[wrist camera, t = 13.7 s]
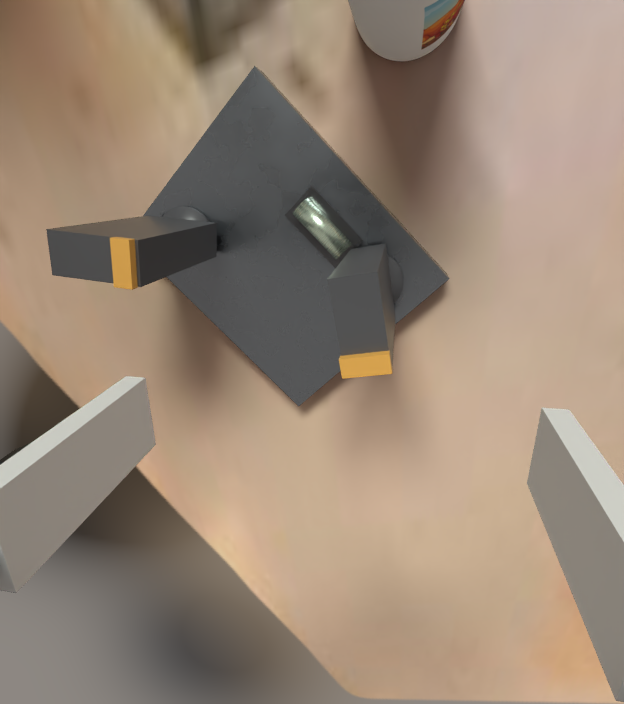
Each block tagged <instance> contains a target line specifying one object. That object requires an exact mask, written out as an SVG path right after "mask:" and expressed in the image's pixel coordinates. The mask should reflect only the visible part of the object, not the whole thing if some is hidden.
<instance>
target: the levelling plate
mask: <svg viewBox="0 0 624 704" xmlns="http://www.w3.org/2000/svg"><path fill="white" fill-rule="evenodd" d="M180 206H190V207H194V208H196V209H198V210H200V211H201V212H202V213H204V214H205V215H206V216H207V218H208V219H209V221H210V222H214V223H217V257H214V258H212V259H209V260H207V261H204V262H202V263H199V264H197V265H194V266H192V267H189V268H187V269H184V270H182V271H179V272H177V273H174V274H172V275H169V276H167V278H168V279H169V280H170V281H171V282H172V283H173V284H174V285H175V286H176V287H177V288H178V289H179V290H180V291H181V292H182V293H183V294H184V295H185V296H186V297H187V298H188V299H189V300H191V301H192V302H193V303H194V304H195V305H196V306H197V307H198V308H199V309H200V310H201V311H202V312H203V313H204V314H205V315H206V316H207V317H208V318H209V319H210V320H211V321H212V322H213V323H214V324H215V325H216V326H217V327H218V328H219V329H220V330H221V331H222V332H223V333H224V334H225V335H226V336H227V337H228V338H229V339H230V340H231V341H232V342H233V343H234V344H236V345H237V346H238V347H239V348H240V349H241V350H242V351H243V352H244V353H245V354H246V355H247V356H248V357H249V358H250V359H251V360H252V361H253V362H254V363H255V364H256V365H257V366H258V367H259V368H260V369H261V370H262V371H263V372H264V373H265V374H266V375H267V376H268V377H269V378H270V379H271V380H272V381H273V382H274V383H275V384H276V385H277V386H278V387H279V388H280V389H282V390H283V391H284V392H285V393H286V394H287V395H288V396H289V397H290V398H291V399H292V400H293V401H294V402H295V403H296V404H297V405H298V406H299V405H301V404H302V403H303V402H304V401H305V400H307V399H308V398H309V397H310V396H311V395H312V394H314V393H315V392H316V391H317V390H318V389H320V388H321V387H322V386H323V385H324V384H325V383H327V382H328V381H329V380H330V379H331V378H333V377H334V376H335V375H336V374H337V373H338V372H340V371H341V370H340V364H339V358H340V356H341V354H340V348H339V343H338V337H337V331H336V326H335V320H334V315H333V309H332V304H331V298H330V292H329V287H328V281H327V279H328V277H329V276H330V275H331V274H332V272H333V271H334V270H335V269H336V267H337V266H338V265H339V264H340V262H341V261H342V260H343V258H344V257H345V256H346V255H347V253H348V252H349V251H350V250H351V249H355V248H361V247H367V246H373V245H379V244H385V243H386V248H387V255H389V256H391V257H392V258H394V259H395V260H396V261H397V262H398V264H399V265H400V267H401V269H402V272H403V279H404V283H403V289H402V292H401V295H400V297H399V298H398V299H397V301H396V302H395V303H394V308H395V316H396V317H395V324H396V323H398V322H399V321H400V320H401V319H402V318H403V317H405V316H406V315H407V314H408V313H409V312H411V311H412V310H413V309H414V308H415V307H416V306H418V305H419V304H420V303H421V302H422V301H424V300H425V299H426V298H427V297H428V296H429V295H431V294H432V293H433V292H434V291H435V290H437V289H438V288H439V287H440V286H441V285H442V284H444V283H445V282H446V281H447V280H448V279H449V277H448V275H447V273H446V272H445V271H444V270H443V269H442V268H441V267H440V266H439V265H438V264H437V262H436V261H435V260H434V259H433V258H432V257H431V256H430V255H429V254H428V253H427V252H426V250H425V249H424V248H423V247H422V246H421V245H420V244H419V243H418V242H417V241H416V240H415V238H414V237H413V236H412V235H411V234H410V233H409V232H408V231H407V230H406V229H405V227H404V226H403V225H402V224H401V223H400V222H399V221H398V220H397V219H396V218H395V217H394V215H393V214H392V213H391V212H390V211H389V210H388V209H387V208H386V207H385V206H384V205H383V203H382V202H381V201H380V200H379V199H378V198H377V197H376V196H375V195H374V194H373V192H372V191H371V190H370V189H369V188H368V187H367V186H366V185H365V184H364V183H363V182H362V180H361V179H360V178H359V177H358V176H357V175H356V174H355V173H354V172H353V171H352V170H351V168H350V167H349V166H348V165H347V164H346V163H345V162H344V161H343V160H342V159H341V157H340V156H339V155H338V154H337V153H336V152H335V151H334V150H333V149H332V148H331V147H330V145H329V144H328V143H327V142H326V141H325V140H324V139H323V138H322V137H321V136H320V135H319V133H318V132H317V131H316V130H315V129H314V128H313V127H312V126H311V125H310V124H309V122H308V121H307V120H306V119H305V118H304V117H303V116H302V115H301V114H300V113H299V112H298V110H297V109H296V108H295V107H294V106H293V105H292V104H291V103H290V102H289V101H288V99H287V98H286V97H285V96H284V95H283V94H282V93H281V92H280V91H279V90H278V89H277V87H276V86H275V85H274V84H273V83H272V82H271V81H270V80H269V79H268V78H267V77H266V75H265V74H264V73H263V72H262V71H260V70H259V69H258V68H257V67H255V66H254V68H253V69H252V70H251V72H250V73H249V74H248V76H247V77H246V78H245V80H244V81H243V82H242V84H241V85H240V86H239V88H238V89H237V90H236V92H235V93H234V94H233V96H232V97H231V98H230V100H229V101H228V103H227V104H226V105H225V107H224V108H223V109H222V111H221V112H220V113H219V115H218V116H217V117H216V119H215V120H214V121H213V123H212V124H211V125H210V127H209V128H208V129H207V131H206V132H205V133H204V135H203V136H202V137H201V139H200V140H199V142H198V143H197V144H196V146H195V147H194V148H193V150H192V151H191V152H190V154H189V155H188V156H187V158H186V159H185V160H184V162H183V163H182V164H181V166H180V167H179V168H178V170H177V171H176V172H175V174H174V175H173V176H172V178H171V179H170V180H169V182H168V183H167V185H166V186H165V187H164V189H163V190H162V191H161V193H160V194H159V195H158V197H157V198H156V199H155V201H154V202H153V203H152V205H151V206H150V207H149V209H148V210H147V211H146V213H145V214H144V215H143V216H159V217H163V215H164V214H165V213H166V212H167V211H168V210H170V209H172V208H175V207H180Z"/></svg>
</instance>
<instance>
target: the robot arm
mask: <svg viewBox="0 0 624 704" xmlns="http://www.w3.org/2000/svg"><path fill="white" fill-rule="evenodd" d="M155 445H156V443H155V436H154V430H153V423H152V417H151V410H150V404H149V397H148V391H147V384H146V378H143V377H130V376H125V377H124V378H123V379H121V380H120V381H118V382H117V383H116V384H114V385H113V386H111V387H110V388H108V389H107V390H106V391H104V392H103V393H101V394H100V395H99V396H97V397H96V398H94V399H93V400H91V401H90V402H89V403H87V404H86V405H84V406H83V407H82V408H80V409H79V410H77V411H76V412H75V413H73V414H72V415H70V416H69V417H67V418H66V419H65V420H63V421H62V422H61V423H59V424H57V425H56V426H55V427H53V428H52V429H51V430H49V431H47V432H46V433H45V434H43V435H42V436H40V437H39V438H38V439H36V440H35V441H33V442H32V443H29V444H27V445H25V446H23V447H21V448H18V449H16V450H14V451H12V452H11V453H10V454H8V455H7V456H5V457H4V458H2V459H1V460H0V590H2V591H7V592H13V593H17V592H18V591H19V590H20V589H21V588H22V586H23V585H24V584H25V583H26V582H27V581H28V580H29V579H30V578H31V577H32V576H33V575H34V574H35V572H37V570H38V569H39V568H40V567H41V566H42V565H43V564H44V563H45V562H46V561H47V560H48V559H49V558H50V557H51V556H52V554H53V553H54V552H55V551H56V550H57V549H58V548H59V547H60V546H61V545H62V544H63V543H64V541H66V540H67V538H68V537H69V536H70V535H71V534H72V533H73V532H74V531H75V530H76V529H77V528H78V527H79V526H80V525H81V524H82V522H83V521H84V520H85V519H86V518H87V517H88V516H89V515H90V514H91V513H92V512H93V511H94V510H95V509H96V507H97V506H98V505H99V504H100V503H101V502H102V501H103V500H104V499H105V498H106V497H107V496H108V495H109V494H110V493H111V492H112V491H113V489H114V488H115V487H116V486H117V485H118V484H119V483H120V482H121V481H122V480H123V479H124V478H125V477H126V476H127V474H128V473H129V472H130V471H131V470H132V469H133V468H134V467H135V466H136V465H137V464H138V463H139V462H140V461H141V460H142V459H143V457H144V456H145V455H146V454H147V453H148V452H149V451H150V450H151V449H152V448H153V447H154V446H155ZM527 484H528V487H529V489H530V492H531V494H532V497H533V499H534V501H535V504H536V506H537V509H538V511H539V514H540V516H541V519H542V521H543V523H544V526H545V528H546V531H547V533H548V536H549V538H550V541H551V543H552V545H553V548H554V550H555V553H556V555H557V558H558V560H559V563H560V565H561V568H562V570H563V572H564V575H565V577H566V580H567V582H568V585H569V587H570V590H571V592H572V594H573V597H574V599H575V602H576V604H577V607H578V609H579V612H580V614H581V616H582V619H583V621H584V624H585V626H586V629H587V631H588V634H589V636H590V639H591V641H592V643H593V646H594V648H595V651H596V653H597V656H598V658H599V661H600V663H601V665H602V668H603V670H604V673H605V675H606V678H607V680H608V683H609V685H610V687H611V690H612V692H613V695H614V697H615V700H616V701H621V702H624V485H623V483H622V482H621V481H620V479H619V478H618V477H617V475H616V474H615V472H614V471H613V470H612V468H611V467H610V465H609V464H608V463H607V461H606V460H605V459H604V457H603V456H602V454H601V453H600V452H599V450H598V449H597V447H596V446H595V445H594V443H593V442H592V441H591V439H590V438H589V436H588V435H587V434H586V432H585V431H584V429H583V428H582V427H581V425H580V424H579V423H578V421H577V420H576V418H575V417H574V416H573V414H572V413H571V412H570V410H567V409H553V408H542V409H541V414H540V419H539V424H538V429H537V435H536V440H535V445H534V450H533V455H532V460H531V465H530V470H529V475H528V480H527Z"/></svg>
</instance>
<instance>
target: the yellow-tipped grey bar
mask: <svg viewBox="0 0 624 704" xmlns="http://www.w3.org/2000/svg"><path fill="white" fill-rule="evenodd" d="M46 230H47V237H48V245H49V252H50V260H51V267H52V275H55V276H63V277H70V278H78V279H85V280H93V281H100V282H107V283H114V287H117V288H124V289H135V288H137V287H142V286H144V285H147V284H149V283H152V282H154V281H157V280H159V279H162V278H164V277H167V276H169V275H172V274H174V273H177V272H179V271H182V270H184V269H187V268H189V267H192V266H194V265H197V264H199V263H202V262H204V261H207V260H209V259H212V258H214V257H217V223H214V222H210V221H209V219H208V218H207V216H206V215H205V214H204V213H202V212H201V211H200V210H198V209H196V208H194V207H190V206H180V207H175V208H172V209H170V210H168V211H167V212H166V213H165V214H164V215H163V217H159V216H143V217H135V218H128V219H120V220H113V221H105V222H98V223H90V224H83V225H75V226H68V227H60V228H53V229H46Z"/></svg>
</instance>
